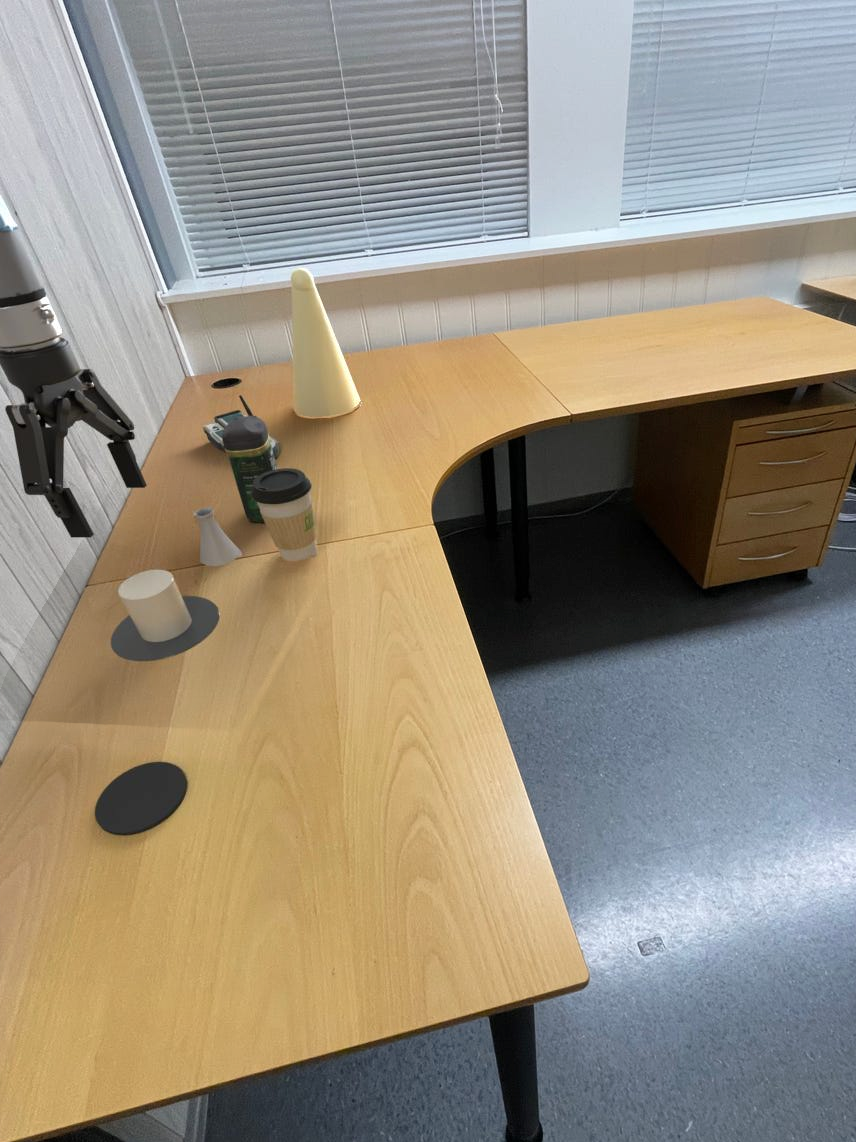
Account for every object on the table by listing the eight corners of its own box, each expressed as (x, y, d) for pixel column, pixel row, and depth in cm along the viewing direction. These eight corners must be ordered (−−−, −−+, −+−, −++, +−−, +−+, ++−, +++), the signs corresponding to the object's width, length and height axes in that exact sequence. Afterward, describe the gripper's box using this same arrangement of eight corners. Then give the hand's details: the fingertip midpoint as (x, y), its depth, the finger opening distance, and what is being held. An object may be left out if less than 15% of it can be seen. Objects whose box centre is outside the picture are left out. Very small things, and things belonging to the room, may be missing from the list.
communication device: (243, 473, 141) (231, 435, 135) (205, 441, 155) (192, 406, 149) (291, 456, 146) (282, 419, 140) (250, 428, 161) (240, 393, 155)
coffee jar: (285, 522, 122) (259, 429, 110) (244, 526, 121) (213, 433, 109) (290, 499, 129) (266, 410, 117) (252, 503, 129) (223, 414, 117)
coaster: (78, 832, 70) (76, 830, 69) (125, 762, 77) (124, 759, 77) (161, 838, 69) (160, 835, 68) (201, 766, 76) (200, 763, 76)
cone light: (293, 399, 176) (259, 256, 153) (357, 391, 179) (333, 249, 156) (294, 431, 158) (256, 274, 135) (366, 422, 160) (340, 266, 138)
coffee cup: (338, 549, 113) (321, 473, 103) (301, 577, 107) (279, 498, 97) (299, 537, 117) (278, 462, 108) (260, 563, 111) (235, 486, 101)
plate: (92, 665, 92) (88, 659, 91) (147, 600, 104) (144, 594, 103) (194, 669, 90) (191, 662, 89) (238, 602, 102) (235, 596, 101)
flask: (227, 575, 109) (208, 524, 102) (192, 569, 110) (172, 519, 104) (250, 553, 114) (234, 504, 107) (217, 548, 116) (199, 499, 109)
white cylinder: (130, 641, 94) (107, 598, 89) (155, 610, 99) (135, 569, 94) (177, 643, 93) (157, 600, 88) (200, 611, 99) (182, 569, 93)
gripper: (-17, 378, 61) (84, 560, 75) (118, 314, 80) (179, 469, 93) (-86, 380, 62) (27, 560, 75) (64, 316, 81) (132, 469, 94)
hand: (111, 510), depth 84 cm, fingers open, 13 cm apart
